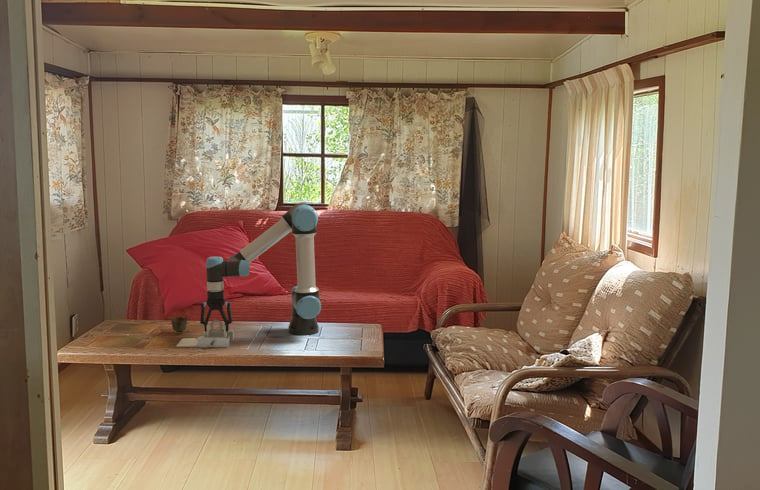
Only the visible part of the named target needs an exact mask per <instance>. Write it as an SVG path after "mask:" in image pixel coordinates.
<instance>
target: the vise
mask: <svg viewBox="0 0 760 490" xmlns="http://www.w3.org/2000/svg"><path fill="white" fill-rule="evenodd" d="M202 334H203V335H202V336H201V335H200V336H198V337H197V338H198V345H197V348H208V347H229V348H230V346H231V345H230V343H231V342H230V340H233V341H234V340H235V330H234V329H229V330H228V332H227V337H216V336H207V332H205V329H203V331H202Z"/></svg>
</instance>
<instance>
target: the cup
mask: <svg viewBox="0 0 760 490" xmlns="http://www.w3.org/2000/svg"><path fill="white" fill-rule="evenodd" d="M187 323H188V317H186V316H185V317H183V316H180V315H179V316H176V317H175V316H174V317H172V318H171V324H172V325H171V326H172V329H173V330H174V332H175V335H178V336H179V335H184V331H185V330H186V329H187Z"/></svg>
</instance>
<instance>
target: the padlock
mask: <svg viewBox="0 0 760 490" xmlns="http://www.w3.org/2000/svg"><path fill="white" fill-rule="evenodd" d="M214 323H219V329H217V328H216V329H214ZM209 336H216V337H224V328H223V322H222V320H220V319H212V321H211V322H210V330H209Z"/></svg>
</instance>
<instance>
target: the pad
mask: <svg viewBox="0 0 760 490" xmlns="http://www.w3.org/2000/svg"><path fill="white" fill-rule="evenodd" d="M175 347H177V348H185V347H186V348H188V347H189V348H196V347H198V337H197V338H193V337H191V338H188V337H187V338H181V340H180V341H179V342H178V343H177V344H176V346H175Z"/></svg>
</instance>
